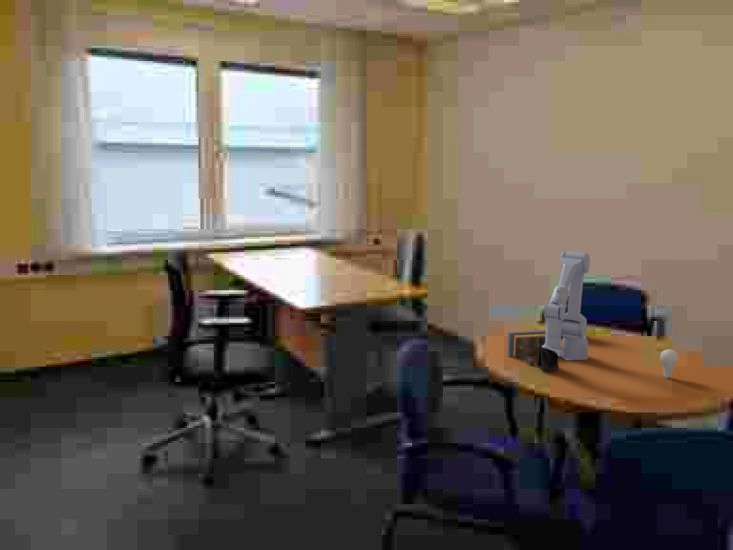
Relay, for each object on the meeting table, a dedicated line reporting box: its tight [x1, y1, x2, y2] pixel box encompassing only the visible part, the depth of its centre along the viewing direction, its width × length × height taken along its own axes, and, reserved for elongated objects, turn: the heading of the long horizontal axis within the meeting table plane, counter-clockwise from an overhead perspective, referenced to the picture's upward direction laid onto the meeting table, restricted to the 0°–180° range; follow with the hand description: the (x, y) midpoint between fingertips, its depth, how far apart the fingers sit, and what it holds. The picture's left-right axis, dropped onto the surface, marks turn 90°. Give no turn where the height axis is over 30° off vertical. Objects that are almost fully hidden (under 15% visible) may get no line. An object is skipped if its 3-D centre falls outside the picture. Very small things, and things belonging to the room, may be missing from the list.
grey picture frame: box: [506, 329, 546, 357], centre depth 258 cm, size 19×2×10 cm, turn 99°
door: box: [514, 335, 545, 358], centre depth 255 cm, size 14×3×8 cm, turn 99°
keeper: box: [520, 353, 534, 366], centre depth 251 cm, size 10×9×2 cm
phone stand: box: [536, 337, 560, 371], centre depth 242 cm, size 9×6×12 cm, turn 0°
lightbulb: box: [659, 348, 679, 379], centre depth 231 cm, size 6×6×11 cm
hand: (551, 368), depth 239 cm, fingers closed, pressing on phone stand
